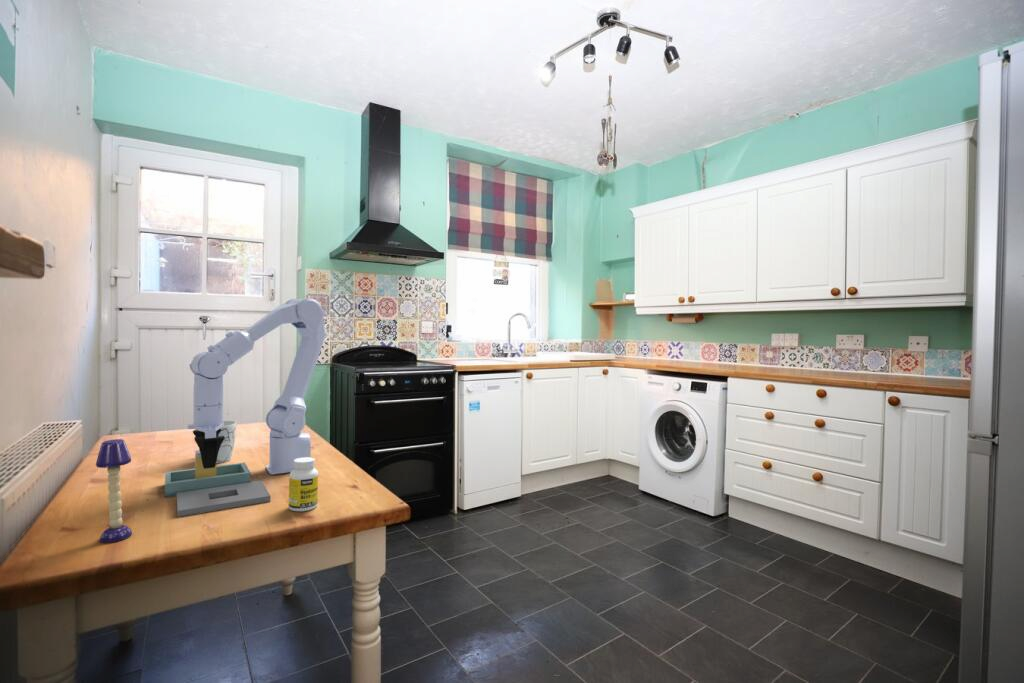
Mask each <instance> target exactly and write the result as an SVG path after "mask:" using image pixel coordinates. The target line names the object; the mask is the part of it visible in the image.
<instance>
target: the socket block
mask: <svg viewBox="0 0 1024 683" xmlns="http://www.w3.org/2000/svg"><path fill="white" fill-rule="evenodd" d="M267 502H268V503H269V502H271V494H270V492H269V491H268V490H267V488H266V486H265V484H264V482H263V481H262V480H255V481H250V482H247V483H241V484H234V485H227V486H220V487H213V488H206V489H199V490H192V491H185V492H178V493H177V496H176V511H177V512H176V514H177V517H178V518H182V517H186V516H193V515H198V514H203V513H204V514H205V513H209V512H215V511H221V510H227V509H234V508H238V507H239V508H240V507H246V506H251V505H258V504H264V503H267Z"/></svg>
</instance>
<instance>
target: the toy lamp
mask: <svg viewBox="0 0 1024 683" xmlns="http://www.w3.org/2000/svg"><path fill="white" fill-rule="evenodd" d="M131 462H132V457H131V454H130V451H129V449H128V447H127V443H126V441H125V440H124V439H122V438H120V439H119V438H117V439H116V438H115V439H109V440H104V441H103V442H101V445H100V448H99V451H98V455H97V459H96V463H95V466H96V467H97V468H99V469H107V473H108V476H107V482H108V485H107V490H108V496H107V499H108V500H109V502H108V509H109V513H108V516H109V519H110V520H109V527H108V528H106V529H105V530H104V531H103V532H102V533H101V535H100V538H99V542H100V543H104V544H105V543H106V544H109V543H117V542H119V541H123V540H126V539H127V538H129V537H131V536H132V534H133V533H132V530H131V528H130V527H129V526H127V525H124V524H123V518H122V516H123V510H122V505H123V503H122V500H121V499H122V492H121V487H122V486H121V482H120V481H121V477H122V476H121V473H120V472H121V466H125V465H128V464H129V463H131Z"/></svg>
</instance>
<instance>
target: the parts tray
mask: <svg viewBox="0 0 1024 683" xmlns="http://www.w3.org/2000/svg"><path fill="white" fill-rule="evenodd" d="M247 482H251V471H250V469H249V467H248V466H247V463H246V462H238V463H237V462H236V463H229V464H222V465H216V476H213V477H206V478H198V479H195V468H189V469H181V470H174V471H173V470H172V471H165V473H164V498H170V497H171V498H172V497H175V496H176V497H177V493H178V492H185V491H192V490H199V489H206V488H213V487H220V486H227V485H234V484H241V483H247Z"/></svg>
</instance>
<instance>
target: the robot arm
mask: <svg viewBox="0 0 1024 683" xmlns="http://www.w3.org/2000/svg"><path fill="white" fill-rule="evenodd" d="M324 316H325V310H324V309H323V307H322V305H321V303H320V302H318V300H317V299H315V298H312V297H311V298H310V297H309V298H308V297H307V298H306V297H305V298H300V299H297V298H291V299H289V300H287V301H286V302H284V303H282V304H280V305H278V306H277V307H275V308H274V309H273V310H271V311H270V312H269V313H268V314H266V315H264V316H263V317H262V318H260V319H259V320H257V321H256V322H255V323H254V324H253V325H251V326H250V327H249V328H247V329H246V330H244V331H241V330H235V331H234V332H233V331H228V332H226V333H225V337H224V338H223V339H221V340H220V341H218V342H217V343H216V344H214V345H211V344H210V345H209V346H208V347H207V348H206V349H207V351H201V352H198V353H197V354H195V356H194V357H192V360H191V363H189V370H190V371H191V372H192V374H194V376H193V378H194V379H193V423H192V424H189V423H188V424H186V425H187V426H186V428H187V429H188V430H192V434H193V435H194V436H195V437H194V441H195V443H196V445H197V447H198V450H200V453H201V459H202V464H203V467H204V469H207V468H214V467H215V465H216V466H217V463H216V461H217V456H218V452H219V449H220V446H221V444H222V442H223V441H224V438H225V437H224V436H218V435H219V433H220V431H221V428H222V427H223V426H224V422H223V421H224V375H225V374H226V373H227V372H228V368H229V366H232V365H233V364H234V363H236V362H238V361H239V360H240V359H242V358H243V357H244V356H246V355H247V354H249V353H250V352H251V351H253V349H254V345H255V342H256V341H259V339H261V338H263V337H265V336H266V335H267V334H269V333H271V332H272V331H273V330H275V329H277V328H279V327H280V326H281V325H284V324H291V325H292V326H293V327H294V328H296V331H297V332H298V333H299V335H300V336H301V339H300V342H299V345H298V348H297V351H296V353H295V356H294V359H293V362H292V365H291V368H290V371H289V374H288V377H287V379H286V383H285V386H284V388H283V391H282V394H281V395H280V396H279V397H278V398H277V399H276V400H275V402H274V405H273V406H272V408H271V409H269V411H268V412H267V414H266V417H265V424H266V426H267V427H268V428H269V429H270V432H269V464H267V465H265V469H266V471H267V472H268V473H269V475H278V474H287V473H291V471H293V470H294V469H295V468H294V466H293V465H294V460H295V459H297V458H303V457H311V451H312V450H311V446H312V445H311V442H312V441H311V437H310V434H309V433H308V432H302V431H303V430H304V428H305V426H306V411H307V406H306V402H305V398H306V394H307V392H308V389H309V386H310V383H311V380H312V377H313V373H314V370H315V368H316V365H317V362H318V359H319V356H320V353H321V350H322V347H323V344H324V341H325V337H326V331H325V324H324V323H325V322H324ZM311 458H312V457H311Z"/></svg>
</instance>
